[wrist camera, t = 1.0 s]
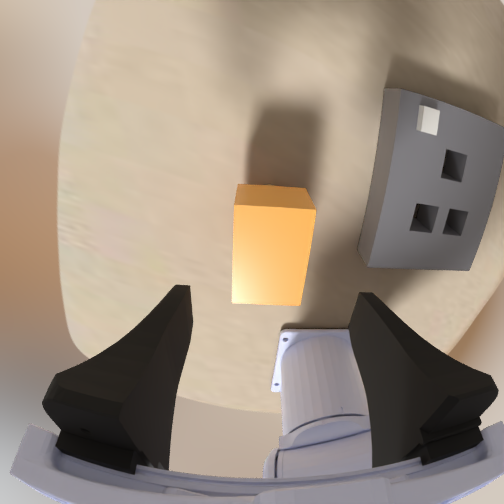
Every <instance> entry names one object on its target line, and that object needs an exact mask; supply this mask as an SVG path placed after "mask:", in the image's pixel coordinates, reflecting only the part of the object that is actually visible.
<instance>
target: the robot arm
mask: <svg viewBox="0 0 504 504" xmlns="http://www.w3.org/2000/svg"><path fill="white" fill-rule="evenodd" d="M192 327H193V315H192V304H191V292H190V286H188V285H175V286H174V287H173V288H172V289H171V290H170V291H169V292H168V294H167V295H166V296H165V297H164V298H163V299H162V300H161V302H160V303H159V304H158V305H157V306H156V307H155V308H154V309H153V310H152V311H151V312H150V313H149V314H148V315H147V316H146V317H145V318H144V319H143V320H142V321H141V322H140V323H139V324H138V325H137V326H136V327H135V328H134V329H132V330H131V331H130V332H129V333H128V334H127V335H125V336H124V337H123V338H122V339H120V340H119V341H118V342H116V343H115V344H113V345H112V346H110V347H109V348H107V349H106V350H104V351H103V352H101V353H99V354H98V355H96V356H94V357H92V358H91V359H89V360H87V361H85V362H83V363H81V364H79V365H77V366H75V367H72V368H70V369H67V370H65V371H63V372H60V373H57V374H56V375H55V377H54V379H53V380H52V382H51V384H50V386H49V388H48V391H47V393H46V395H45V397H44V399H43V401H42V405H43V408H44V410H45V411H46V413H47V414H48V415H49V416H50V418H51V419H52V420H53V421H54V422H55V423H56V425H57V426H58V427H59V428H60V429H61V432H60V434H59V436H57V435H56V434H54V433H53V432H51V431H48V430H46V429H43V428H41V427H39V426H36V425H34V424H32V423H29V424H28V427H27V429H26V431H25V434H24V436H23V439H22V441H21V444H20V446H19V449H18V451H17V454H16V457H15V459H14V462H13V465H12V467H11V470H10V474H11V475H12V476H14V477H15V478H17V479H18V480H20V481H22V482H23V483H25V484H26V485H28V486H29V487H31V488H33V489H34V490H36V491H38V492H39V493H41V494H43V495H45V496H47V497H49V498H51V499H53V500H55V501H57V502H60V503H62V504H450V503H452V502H454V501H457V500H459V499H461V498H463V497H465V496H467V495H469V494H471V493H473V492H475V491H477V490H479V489H481V488H482V487H484V486H486V485H488V484H489V483H491V482H492V481H494V480H495V479H497V478H498V477H500V476H501V475H503V474H504V424H503V422H502V421H500V422H498V423H495V424H493V425H491V426H488V427H486V428H485V429H483V430H482V431H480V429H479V427H478V426H479V425H481V419H480V416H481V414H483V412H484V411H485V410H486V409H487V408H488V407H489V406H490V405H491V404H492V402H494V400H495V399H496V397H497V395H498V388H497V386H496V384H495V382H494V381H493V379H492V377H491V375H488V374H486V373H483V372H481V371H478V370H475V369H473V368H471V367H468V366H467V365H465V364H462V363H460V362H458V361H457V360H455V359H453V358H451V357H450V356H448V355H446V354H445V353H443V352H441V351H440V350H438V349H437V348H435V347H434V346H433V345H431V344H430V343H429V342H427V341H426V340H424V339H423V338H422V337H421V336H419V335H418V334H417V333H416V332H415V331H413V330H412V329H411V328H410V327H409V326H408V325H407V324H405V323H404V322H403V321H402V320H401V319H400V318H399V317H398V316H397V315H396V314H395V313H394V312H393V311H392V310H390V309H389V308H388V307H387V306H386V305H385V304H384V303H383V302H382V301H381V300H380V299H379V298H378V297H377V296H376V295H374V294H373V293H366V292H359V296H358V299H357V302H356V305H355V308H354V311H353V314H352V317H351V320H350V323H349V326H348V329H284V330H282V331H281V332H280V338H279V344H278V350H277V355H276V361H275V367H274V373H273V378H272V384H271V391H273V392H280V393H281V409H282V426H283V436H280V437H279V448H274V449H272V450H271V451H270V453H269V455H268V456H267V458H266V460H265V462H264V466H263V478H234V477H218V476H206V475H197V474H189V473H181V472H174V471H169V456H170V441H171V432H172V431H171V430H172V423H173V414H174V407H175V399H176V393H177V389H178V384H179V381H180V377H181V373H182V370H183V366H184V363H185V359H186V355H187V352H188V348H189V345H190V340H191V334H192ZM284 338H285V339H284ZM361 378H362V379H361ZM363 385H364V386H363Z"/></svg>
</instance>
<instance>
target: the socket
mask: <svg viewBox="0 0 504 504" xmlns="http://www.w3.org/2000/svg"><path fill="white" fill-rule="evenodd" d="M446 149H448V150H447V156H446V161H445V166H444V171H443V172H442V169H443V164H444V159H445V154H446ZM503 158H504V127H502V126H500V125H498V124H496V123H494V122H492V121H490V120H487V119H485V118H483V117H481V116H478V115H476V114H473V113H471V112H469V111H466V110H464V109H461V108H458V107H456V106H453V105H451V104H448V103H445V102H442V101H439V100H436V99H433V98H430V97H427V96H424V95H421V94H418V93H415V92H411V91H408V90H404V89H398V88H384V96H383V106H382V115H381V123H380V130H379V138H378V145H377V151H376V158H375V164H374V170H373V176H372V181H371V187H370V192H369V197H368V202H367V207H366V212H365V217H364V222H363V226H362V231H361V235H360V239H359V244H358V248H357V250H358V252H359V254H360V256H361V257H362V259H363V261H364V263H365V264H366V266H367V267H370V268H396V269H425V270H456V271H469V270H470V268H471V265H472V263H473V260H474V258H475V255H476V252H477V250H478V247H479V244H480V241H481V239H482V236H483V233H484V230H485V227H486V224H487V221H488V217H489V214H490V211H491V207H492V204H493V200H494V197H495V193H496V189H497V185H498V181H499V177H500V172H501V168H502V163H503ZM416 203H418V204H420V207H419V211H418V215H417V219H416V218H413V215H414V211H415V207H416Z"/></svg>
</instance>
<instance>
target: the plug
mask: <svg viewBox="0 0 504 504" xmlns="http://www.w3.org/2000/svg"><path fill="white" fill-rule="evenodd" d="M315 217H316V208H315V206H314V204H313V202H312V200H311V198H310V196H309V194H308V192H307V190H306V188H296V187H283V186H274V185H272V184H267V185H249V184H238V187H237V192H236V198H235V203H234V229H233V268H232V303H240V304H262V305H290V306H300V304H301V299H302V294H303V288H304V283H305V277H306V272H307V266H308V260H309V254H310V248H311V242H312V236H313V230H314V223H315Z"/></svg>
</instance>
